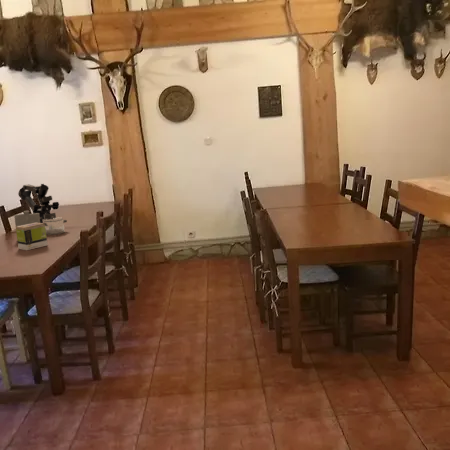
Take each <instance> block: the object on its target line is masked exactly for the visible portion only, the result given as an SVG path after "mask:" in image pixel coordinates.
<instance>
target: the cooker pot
mask: <svg viewBox="0 0 450 450" xmlns="http://www.w3.org/2000/svg"><path fill="white" fill-rule="evenodd" d="M43 223H44V224H45V229H46V236H50V235H51V236H54V235H61V234H65V232H66V231H65V223H68V220H67V219H63V220H60V221H54V222H44V221H43Z"/></svg>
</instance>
